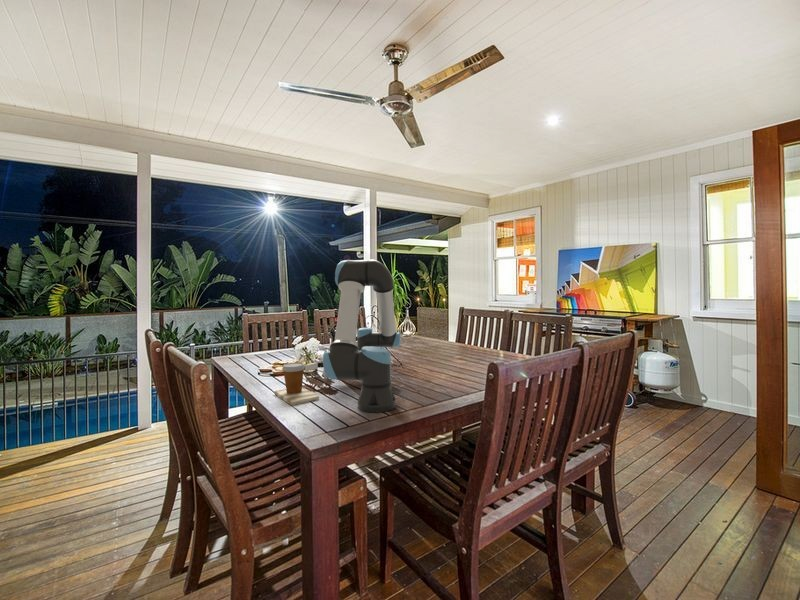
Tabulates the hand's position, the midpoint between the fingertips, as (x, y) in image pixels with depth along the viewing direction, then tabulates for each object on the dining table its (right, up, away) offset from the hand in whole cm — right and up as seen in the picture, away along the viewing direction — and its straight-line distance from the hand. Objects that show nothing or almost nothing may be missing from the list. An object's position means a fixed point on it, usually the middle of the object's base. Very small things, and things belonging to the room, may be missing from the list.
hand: (314, 370), depth 171 cm
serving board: (-6, -10, -7) cm, 14 cm away
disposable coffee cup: (-8, -9, -4) cm, 13 cm away
